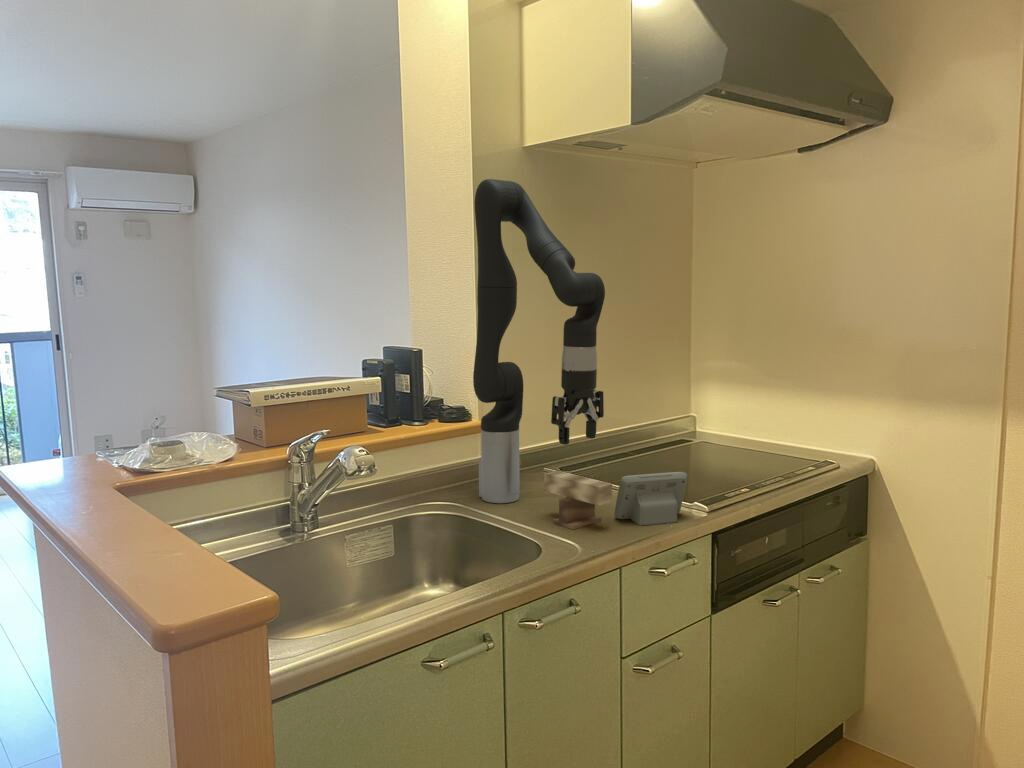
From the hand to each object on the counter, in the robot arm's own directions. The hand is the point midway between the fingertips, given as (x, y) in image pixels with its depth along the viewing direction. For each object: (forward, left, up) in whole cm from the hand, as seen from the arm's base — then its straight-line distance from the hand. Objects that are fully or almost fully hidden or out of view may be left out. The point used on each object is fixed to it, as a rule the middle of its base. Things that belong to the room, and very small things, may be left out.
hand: (577, 440), depth 169 cm
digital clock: (+10, +14, -19) cm, 25 cm away
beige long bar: (0, 0, -12) cm, 12 cm away
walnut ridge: (0, 0, -18) cm, 18 cm away
